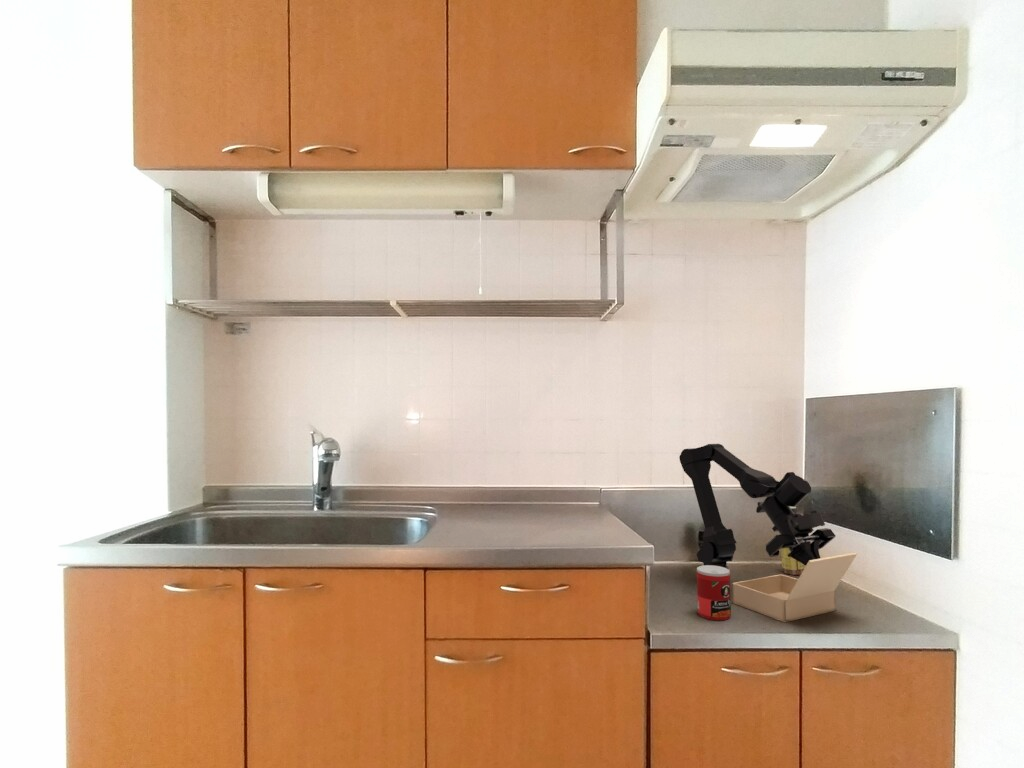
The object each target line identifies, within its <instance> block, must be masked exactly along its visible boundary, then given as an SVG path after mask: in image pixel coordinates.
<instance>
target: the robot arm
mask: <svg viewBox="0 0 1024 768" xmlns="http://www.w3.org/2000/svg"><path fill="white" fill-rule="evenodd" d="M711 462H714V463H716V464H717V465H718V466H719V467H721V468H722V469H724V471H726V472H727V473H728V474H730V475H731V476H732V477H734V478H735V480H737V481H738V482H739V486H740V488H741V489H742V490H743V492H745V494H746V495H747V496H748V497H749V498H751V499H762V498H765V499H764V500H763V501H758V502H757V507H756V509H755V510H756V513H757V514H762V513H765V515H767V517H768V518H769V519H770V521H771V522H772V523H771V524H773V527H772V531H773V532H778V533H779V534H776V535H775V536H774V537H773V538H772V539H771V540H770V541H768V542H767V543H766V544H765V552H766V553H767V555H768V557H769V558H773V557H778V556H780V550H781V549H782V548H789V551H790V553H789V554H788V555H787V556H788V557H792V558H793V559H795V560H797V561H799V562H800V563H802V564H804V565H805V567H806V565H807V563H808V561H809V560H814V559H820V558H821V555H820V550H821V549H823V548H824V547H826V545H828V544H829V543H830V542H831V541H832V540H833V539H835V537H836V534H835V532H834V531H833V530H832V529H831V528H825V527H824V528H819V529H816V530H814V528H818V527H823V526H825V525H826V523H825V522H827V515H825V513H824V512H823V511H822V510H821V509H814V510H811V511H810V513H806V514H800V513H796V514H794V512H793V511H792V510H791V508H790V507H789V506H792V507H797V506H798V505H799V504H800V503H801V502H802V501H803V500H804V499H805V498H806V497H807V496H808V495H809V494H810V493H811V492H812V487H811V485H810V483H809V482H808V481H807V480H805V479H804V478H803V477H801V476H799V475H796V473H795V472H794V471H791V472H790V471H789V472H786V473H785V474H784V475H783V477H782V479H780V480H779V481H778V480H776V478H775V477H774V476H772V475H771V474H769V473H766V472H764V471H762V470H758V469H756V468H755V469H754V468H753V467H751V466H749V465H748V464H746V463H745V462H744V461H742V460H741V459H739V458H738V457H737V456H736V455H734V454H733V453H732V452H731V451H729V450H728V449H726V447H725V446H724V445H723V444H721V443H707V444H705V445H703V446H699V447H694V448H684V449H682V451H681V452H680V454H679V463H680V464H681V467H682V470H683V472H684V473H685V475H687V476H688V477H689V479H690V480H691V482H692V487H693V490H694V493H695V496H696V499H697V500H696V501H697V504H698V507H699V511H700V513H701V514H700V515H701V519H702V522H703V526H704V530H703V534H702V543H703V546H701V548H700V549H699V550H698V551H697V552H696V558H697V561H698V562H699V563H702V566H704V565H713V566H720V567H724V568H727V569H729V570H730V567H729V565H727V564H728V562H733V558H734V554H735V552H736V551H737V546H736V544H737V541H736V539H735V536H734V531H733V529H732V528H726V526H725V525H724V524H723V522H722V519H721V515H720V512H719V510H720V509H719V508H718V504H717V501H716V497H715V494H714V490H713V487H712V483H711V480H710V476H709V475H710V471H711V467H712V464H711ZM813 531H814V532H813ZM780 534H781V535H780ZM809 534H810V535H809Z"/></svg>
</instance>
